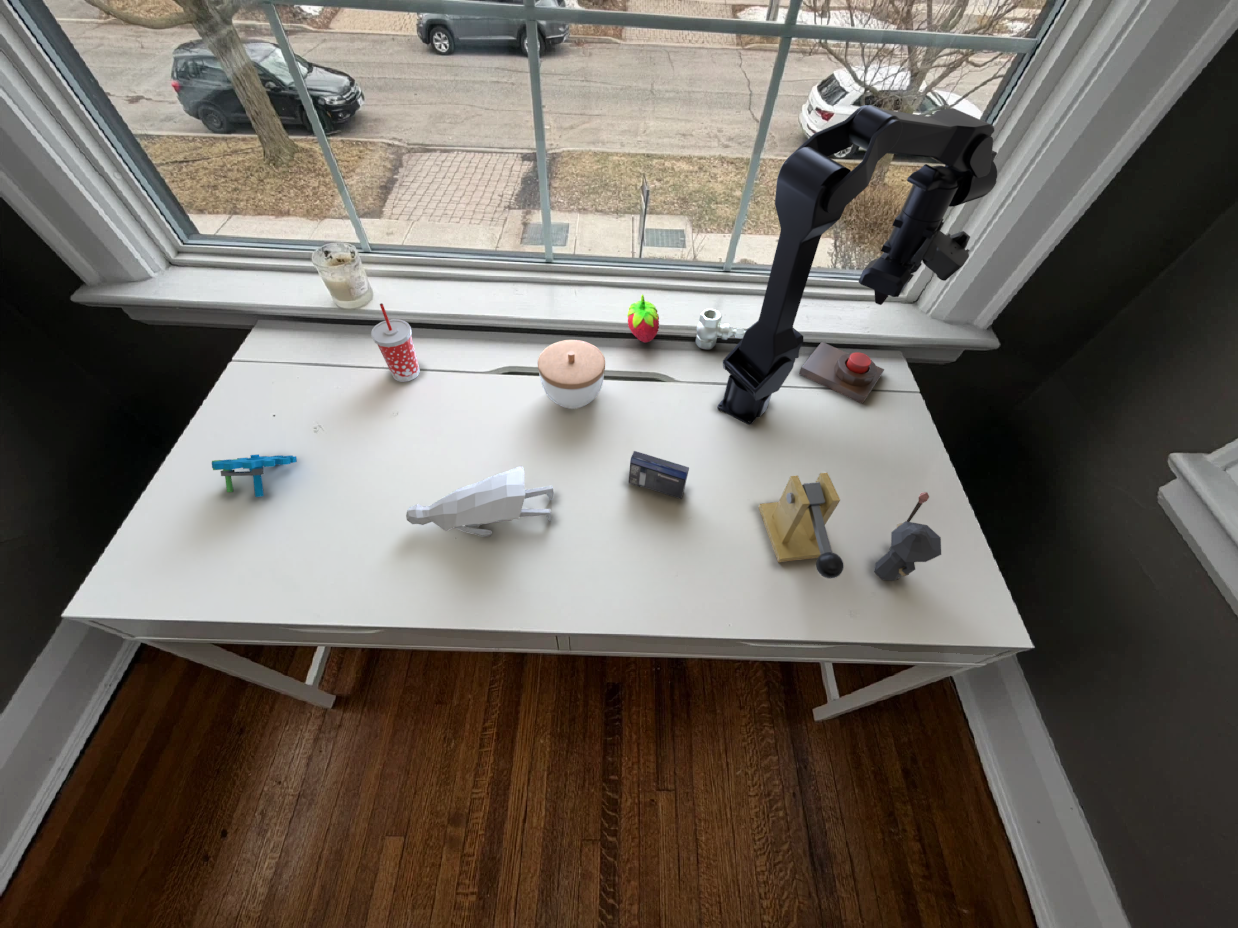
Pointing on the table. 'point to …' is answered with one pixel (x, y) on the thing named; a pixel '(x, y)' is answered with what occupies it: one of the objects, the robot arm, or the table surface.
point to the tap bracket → (796, 520)
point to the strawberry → (643, 320)
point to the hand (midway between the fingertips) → (878, 303)
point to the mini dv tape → (657, 474)
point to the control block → (839, 373)
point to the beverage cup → (396, 347)
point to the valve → (714, 329)
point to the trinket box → (571, 372)
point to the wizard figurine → (909, 547)
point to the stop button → (858, 363)
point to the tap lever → (822, 534)
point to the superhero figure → (482, 504)
